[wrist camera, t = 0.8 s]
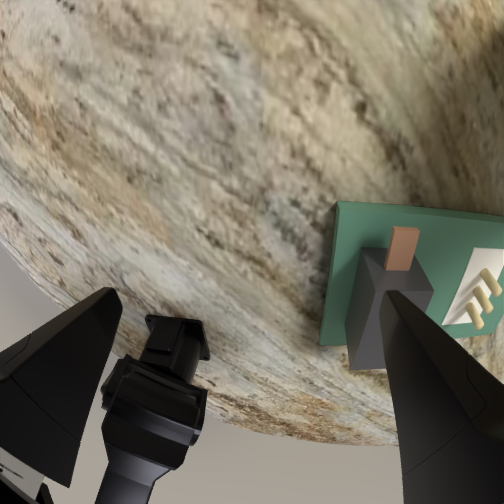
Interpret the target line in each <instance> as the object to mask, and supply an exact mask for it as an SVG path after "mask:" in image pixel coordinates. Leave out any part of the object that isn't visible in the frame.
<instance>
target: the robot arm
mask: <svg viewBox="0 0 504 504" xmlns="http://www.w3.org/2000/svg"><path fill="white" fill-rule="evenodd" d="M122 311H123V306H122V303H121V301H120V299H119V296H118V294H117V292H116V290H115V289H114V288H112V287H103V288H102V289H100V290H98V291H97V292H95V293H93V294H92V295H90V296H88V297H87V298H85V299H84V300H82V301H80V302H79V303H77V304H75V305H74V306H72V307H71V308H69V309H67V310H66V311H64V312H63V313H61V314H60V315H58V316H56V317H55V318H53V319H52V320H50V321H49V322H47V323H46V324H44V325H42V326H41V327H39V328H38V329H36V330H35V331H33V332H32V334H29V335H27V336H26V337H24V338H23V339H21V340H20V341H18V342H16V343H15V344H13V345H12V346H10V347H8V348H7V349H5V350H3V351H2V352H0V504H54V503H53V500H52V498H51V495H50V493H49V489H48V486H47V485H46V484H45V483H43V482H42V481H43V478H44V476H46V477H48V478H50V479H52V480H53V481H56V482H57V483H59V484H61V485H63V486H65V487H67V488H69V487H70V484H71V480H72V475H73V471H74V466H75V463H76V458H77V455H78V450H79V447H80V443H81V442H80V441H81V439H82V435H83V432H84V428H85V425H86V421H87V418H88V415H89V411H90V408H91V405H92V402H93V399H94V396H95V393H96V390H97V387H98V384H99V381H100V378H101V376H102V373H103V370H104V367H105V364H106V362H107V359H108V356H109V354H110V351H111V348H112V345H113V342H114V339H115V335H116V331H117V328H118V325H119V321H120V318H121V314H122ZM379 319H380V327H381V335H382V343H383V353H384V360H385V365H386V370H387V375H388V380H389V385H390V390H391V396H392V401H393V407H394V413H395V419H396V426H397V433H398V441H399V449H400V458H401V468H402V480H403V497H404V504H504V384H502V383H501V382H500V381H499V380H498V379H497V378H495V377H494V376H493V375H492V374H491V373H490V372H488V371H487V370H486V369H485V368H484V367H483V366H482V365H481V364H480V363H479V362H478V361H477V360H476V359H475V358H473V357H472V356H471V355H470V354H469V353H468V352H467V351H466V350H465V349H464V348H463V347H462V346H461V345H460V344H459V343H458V342H456V341H455V340H454V339H453V338H452V337H451V336H450V335H449V334H448V333H447V332H446V331H444V330H443V329H442V328H441V327H440V326H439V325H438V324H437V323H436V322H434V321H433V320H432V319H431V318H430V317H429V316H428V315H426V314H425V313H424V312H423V311H422V310H421V309H420V308H418V307H417V306H416V305H415V304H414V303H413V302H411V301H410V300H409V299H408V298H407V297H406V296H404V295H403V294H402V293H401V292H400V291H398V290H386V291H385V292H384V294H383V298H382V302H381V306H380V310H379ZM145 321H146V323H147V326H148V328H149V331H150V335H149V337H148V339H147V341H146V343H145V347H144V349H143V351H142V354H141V356H140V358H139V360H136V359H134V358H132V357H131V356H130V355H128V354H126V356H125V357H124V358H123V359H118V361H117V363H116V365H115V367H114V368H113V370H112V372H111V374H110V375H109V376H108V378H107V379H106V381H105V382H104V383H103V385H102V387H101V390H100V391H101V393H102V395H103V398H102V401H103V402H102V407H101V408H103V409H104V410H106V411H107V413H106V415H105V418H104V420H103V423H102V426H101V429H102V434H103V439H104V444H105V448H106V452H107V456H108V460H109V463H108V466H107V469H106V471H105V475H104V477H103V480H102V483H101V486H100V489H99V492H98V495H97V498H96V501H95V504H148V501H149V498H150V495H151V492H152V489H153V486H154V484H155V481H156V480H158V479H159V478H160V477H162V476H163V475H165V474H166V473H168V472H169V471H170V470H176V469H177V468H178V467H180V465H182V464H183V462H184V459H185V455H186V453H187V450H188V448H189V446H193V445H194V444H195V443H196V441H197V439H198V437H199V435H200V433H201V430H202V427H203V423H204V416H205V408H206V400H207V392H208V390H206V389H204V388H199V387H196V386H194V385H192V381H193V378H194V374H195V371H196V368H197V364H198V361H199V360H205V361H208V360H210V352H209V348H208V344H207V340H206V335H205V331H204V327H203V323H202V322H201V321H199V320H193V319H183V318H174V317H165V316H157V315H147V316H146V317H145Z"/></svg>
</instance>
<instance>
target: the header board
mask: <svg viewBox="0 0 504 504" xmlns="http://www.w3.org/2000/svg"><path fill="white" fill-rule="evenodd" d="M393 226H398V227H414V228H418V230H419V231H420V233H419V237H418V241H417V245H416V248H415V252H414V255H415V256H416V258H417V260H418V262H419V263H420V265H421V267H422V269H423V270H424V272H425V274H426V276H427V278H428V280H429V281H430V283H431V285H432V287H433V289H434V293H433V295H432V298H431V300H430V303H429V305H428V307H427V310H426V312H425V314H426V315H428V316H429V317H430V318H431V319H432V320H433V321H434V322H436V323H437V324H438V325H439V326H440V327H441V328H442V329H443V330H444V331H446V332H447V333H448V334H449V335H450V336H451V337H452V338H453V339H455V338H464V337H472V336H479V335H486V334H492V333H493V332H494V330H495V328H496V327H497V325H498V323H499V322H500V320H501V318H502V317H503V315H504V217H502V216H495V215H488V214H480V213H473V212H464V211H456V210H447V209H438V208H427V207H417V206H405V205H393V204H379V203H364V202H346V201H337V206H336V217H335V227H334V236H333V245H332V254H331V262H330V269H329V276H328V284H327V290H326V297H325V303H324V310H323V316H322V321H321V327H320V333H319V337H320V345H347V340H346V333H345V326H344V324H345V320H346V316H347V312H348V308H349V303H350V299H351V295H352V290H353V285H354V281H355V276H356V271H357V266H358V260H359V255H360V249H361V247H374V248H388V246H389V241H390V237H391V232H392V227H393Z"/></svg>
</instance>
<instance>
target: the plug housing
mask: <svg viewBox="0 0 504 504" xmlns="http://www.w3.org/2000/svg"><path fill="white" fill-rule="evenodd" d="M419 233H420V231H419V230H418V228H414V227H398V226H393V227H392V232H391V237H390V241H389V246H388V248H374V247H361V249H360V255H359V260H358V266H357V271H356V276H355V281H354V285H353V290H352V295H351V299H350V303H349V308H348V312H347V316H346V320H345V324H344V326H345V333H346V340H347V348H348V356H349V364H350V370H366V369H384V368H386V365H385V360H384V353H383V343H382V335H381V327H380V319H379V310H380V306H381V302H382V298H383V294H384V292H385V291H386V290H398V291H400V292H401V293H402V294H403V295H404V296H406V297H407V298H408V299H409V300H410V301H411V302H413V303H414V304H415V305H416V306H417V307H418V308H420V309H421V310H422V311H423V312H424V313H425V312H426V310H427V307H428V305H429V303H430V300H431V298H432V295H433V293H434V289H433V287H432V285H431V283H430V281H429V280H428V278H427V276H426V274H425V272H424V270H423V269H422V267H421V265H420V263H419V262H418V260H417V258H416V256H415V255H414V252H415V248H416V245H417V241H418V237H419Z"/></svg>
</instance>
